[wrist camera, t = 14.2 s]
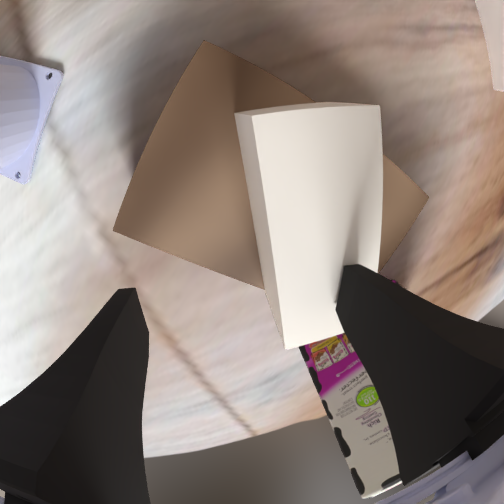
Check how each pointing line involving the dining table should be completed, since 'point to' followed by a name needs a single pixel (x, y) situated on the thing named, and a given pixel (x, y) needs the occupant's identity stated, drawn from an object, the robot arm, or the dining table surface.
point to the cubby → (224, 172)
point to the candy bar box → (354, 413)
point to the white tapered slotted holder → (494, 37)
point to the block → (312, 206)
